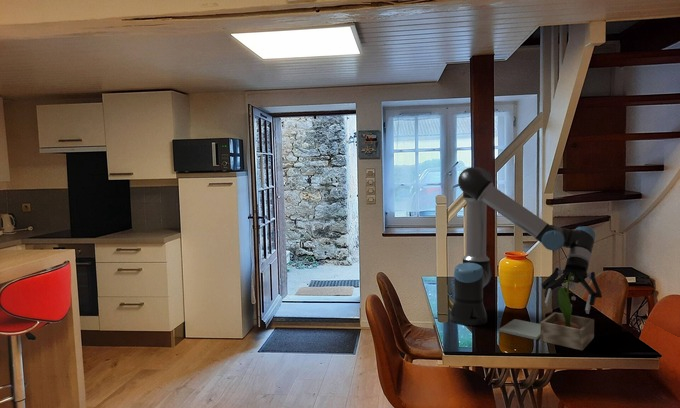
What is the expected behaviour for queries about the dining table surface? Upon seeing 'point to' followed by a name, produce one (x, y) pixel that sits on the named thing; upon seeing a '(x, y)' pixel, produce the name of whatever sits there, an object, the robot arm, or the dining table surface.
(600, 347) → the dining table surface
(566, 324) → the potted flower
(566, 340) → the open wooden box
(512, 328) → the pad
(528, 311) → the dining table surface
